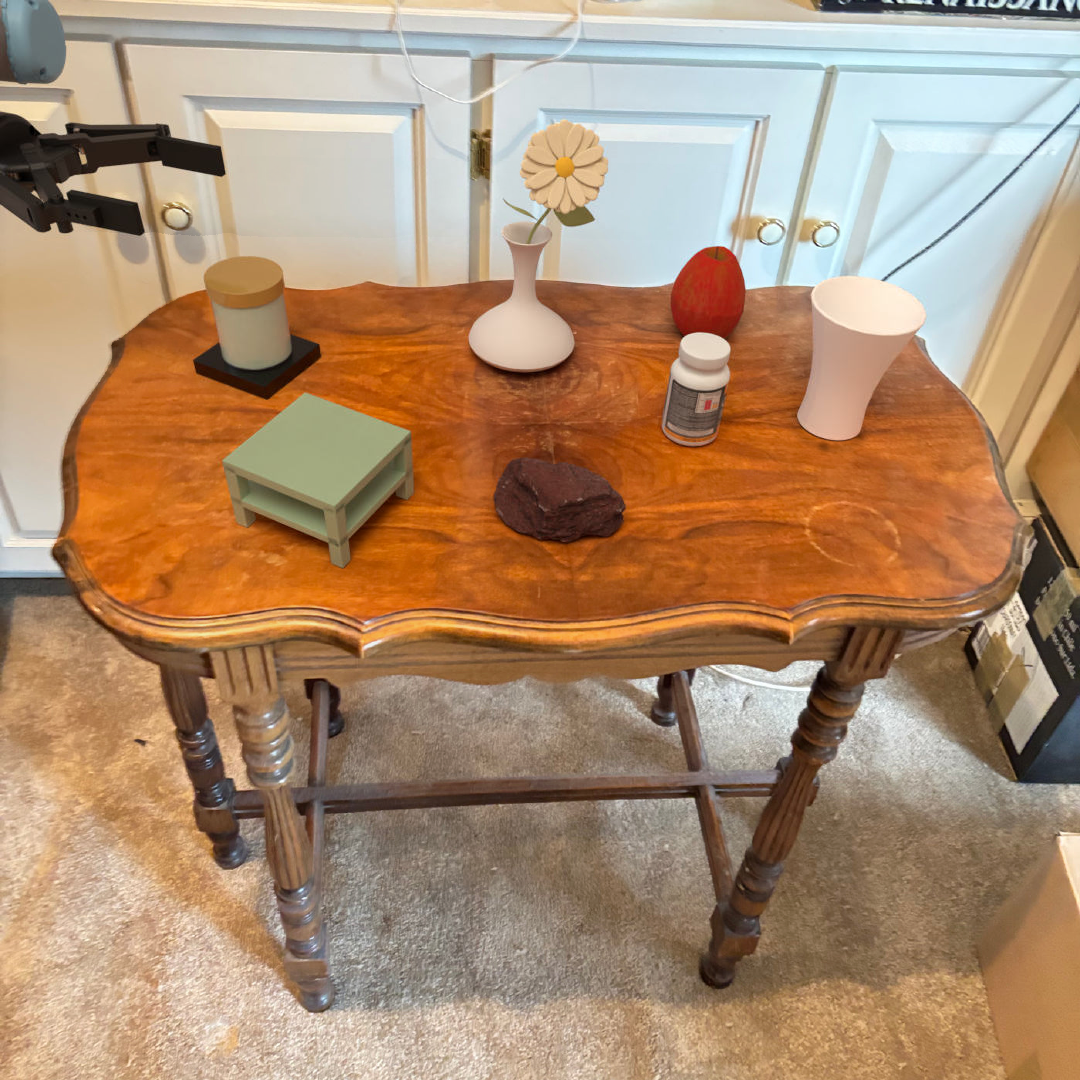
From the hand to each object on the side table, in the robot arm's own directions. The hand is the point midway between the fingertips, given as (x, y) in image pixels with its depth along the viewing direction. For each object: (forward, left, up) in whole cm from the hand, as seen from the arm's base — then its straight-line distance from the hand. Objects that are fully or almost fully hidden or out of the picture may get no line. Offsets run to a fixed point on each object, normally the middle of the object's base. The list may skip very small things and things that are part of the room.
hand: (182, 189), depth 86 cm
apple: (+43, +31, -18) cm, 56 cm away
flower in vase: (+28, +17, -18) cm, 37 cm away
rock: (+42, -4, -18) cm, 46 cm away
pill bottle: (+48, +13, -18) cm, 53 cm away
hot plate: (+5, +1, -18) cm, 19 cm away
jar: (+5, +1, -16) cm, 17 cm away
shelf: (+24, -14, -18) cm, 33 cm away
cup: (+60, +22, -18) cm, 66 cm away
